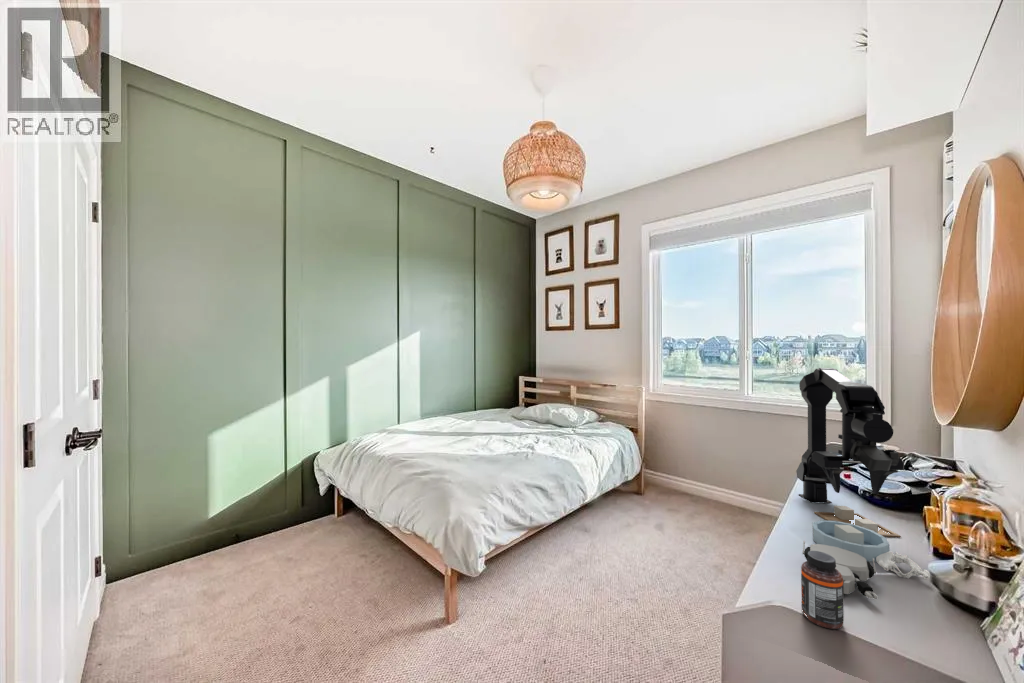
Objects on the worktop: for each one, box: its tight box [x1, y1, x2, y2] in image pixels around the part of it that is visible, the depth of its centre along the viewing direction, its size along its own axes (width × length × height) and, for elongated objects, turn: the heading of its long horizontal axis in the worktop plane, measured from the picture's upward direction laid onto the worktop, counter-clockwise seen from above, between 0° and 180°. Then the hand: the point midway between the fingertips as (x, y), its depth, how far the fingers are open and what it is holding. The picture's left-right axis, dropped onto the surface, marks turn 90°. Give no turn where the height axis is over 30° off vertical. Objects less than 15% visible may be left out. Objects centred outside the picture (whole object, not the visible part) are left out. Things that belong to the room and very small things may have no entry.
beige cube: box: [834, 525, 864, 545], centre depth 96 cm, size 4×4×4 cm
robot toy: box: [801, 540, 879, 600], centre depth 83 cm, size 12×4×15 cm
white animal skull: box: [876, 551, 931, 580], centre depth 85 cm, size 8×4×7 cm
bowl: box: [811, 519, 891, 563], centre depth 96 cm, size 14×14×4 cm
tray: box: [813, 511, 902, 539], centre depth 109 cm, size 14×12×1 cm
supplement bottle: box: [800, 551, 845, 630], centre depth 71 cm, size 6×6×11 cm
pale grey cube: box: [855, 518, 879, 533], centre depth 104 cm, size 3×3×3 cm
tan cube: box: [833, 505, 855, 520], centre depth 113 cm, size 3×3×3 cm
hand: (856, 493), depth 102 cm, fingers open, 9 cm apart
